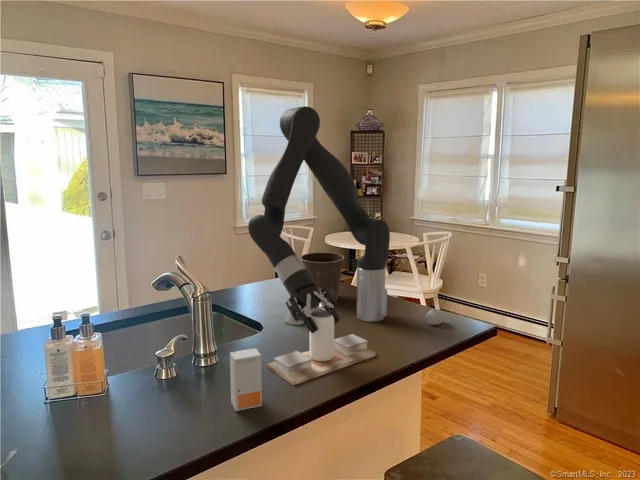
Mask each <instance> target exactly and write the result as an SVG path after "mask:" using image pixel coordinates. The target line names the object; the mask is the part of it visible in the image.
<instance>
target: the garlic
mask: <svg viewBox="0 0 640 480" xmlns="http://www.w3.org/2000/svg"><path fill="white" fill-rule="evenodd" d="M425 317H426V322H427V324H429V325H431V326H437V325H441V324H442V323H443V322H444V314H443V312H442V311H440V310H437V309H435V308H433V309H429V310H428V312H427V313H426V316H425Z"/></svg>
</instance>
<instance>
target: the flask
mask: <svg viewBox="0 0 640 480" xmlns="http://www.w3.org/2000/svg"><path fill="white" fill-rule="evenodd" d="M298 306H299V308H300V305H298ZM296 313H297V312H296ZM297 315H298V314H297ZM283 323H284V324H286V325H287V324H288V325H290V326H300V325H303V324H304V325H305V323H304V322H302V321H295V320H294V318H293V316H292V314H291V312H290V310H289V309H288V310H287V314H286V317H285V320H284V322H283Z"/></svg>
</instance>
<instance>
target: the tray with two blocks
mask: <svg viewBox="0 0 640 480" xmlns="http://www.w3.org/2000/svg"><path fill="white" fill-rule="evenodd" d="M376 354H377V353H376V351H373V350H371V349H369V348H368V340H367V339H364V338H363V337H360V336H358V335H356V334H353V333H351V334H348V335H345V336H344V335H343V336H342V337H338V338H334V357H333V358H332V359H331V360H329V361H326V362H318V361H314V360H312V359H311V358H310V350H306V351H304V352H300V351H298V350H295V351H292V352H289V353H285V354H282V355H280V356H276V357H273V360H274V361H272V362H269V363H266V369H268V370H270V371H271V372H272V373H274V374H276V375H278V376H279V377H280V378H281V379H283V380H285V381H286V382H288V383H289V384H290V385H292V386H295V385H298V384H301V383H304V382H307V381H310V380H312V379H315V378H318V377H320V376H323V375H326V374H328V373H332V372H334V371H337V370H340V369H343V368H345V367H349V366H351V365H353V364H357V363H359V362H362V361H365V360H367V359H371V358H373V357H376V356H377V355H376Z"/></svg>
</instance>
